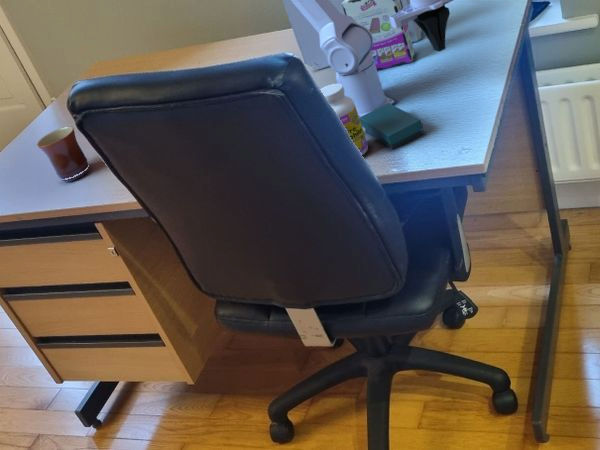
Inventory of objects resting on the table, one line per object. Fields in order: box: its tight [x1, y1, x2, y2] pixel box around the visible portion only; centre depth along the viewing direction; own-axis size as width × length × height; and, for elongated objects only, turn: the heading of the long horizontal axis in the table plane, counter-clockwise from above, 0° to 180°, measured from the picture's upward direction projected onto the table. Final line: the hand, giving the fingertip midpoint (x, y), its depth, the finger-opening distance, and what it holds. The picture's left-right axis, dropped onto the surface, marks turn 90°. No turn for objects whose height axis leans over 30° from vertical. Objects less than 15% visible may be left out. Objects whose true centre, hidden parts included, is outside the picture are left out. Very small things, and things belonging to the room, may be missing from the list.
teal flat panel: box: [359, 103, 424, 150], centre depth 139 cm, size 12×6×3 cm, turn 22°
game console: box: [281, 0, 422, 70], centre depth 176 cm, size 6×27×20 cm, turn 83°
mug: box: [36, 126, 90, 183], centre depth 176 cm, size 12×9×10 cm
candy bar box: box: [342, 0, 416, 71], centre depth 165 cm, size 11×5×16 cm, turn 76°
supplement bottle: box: [319, 83, 369, 156], centre depth 136 cm, size 7×7×13 cm
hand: (439, 49), depth 140 cm, fingers closed
